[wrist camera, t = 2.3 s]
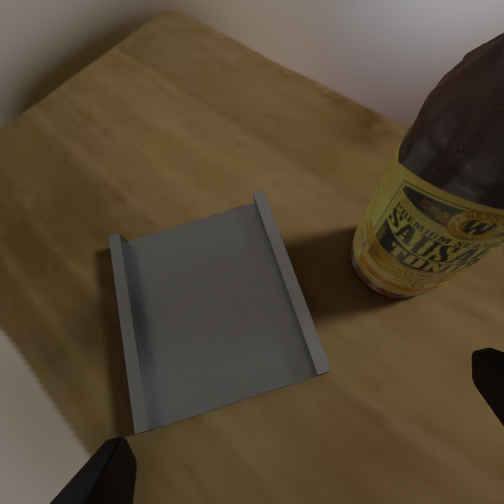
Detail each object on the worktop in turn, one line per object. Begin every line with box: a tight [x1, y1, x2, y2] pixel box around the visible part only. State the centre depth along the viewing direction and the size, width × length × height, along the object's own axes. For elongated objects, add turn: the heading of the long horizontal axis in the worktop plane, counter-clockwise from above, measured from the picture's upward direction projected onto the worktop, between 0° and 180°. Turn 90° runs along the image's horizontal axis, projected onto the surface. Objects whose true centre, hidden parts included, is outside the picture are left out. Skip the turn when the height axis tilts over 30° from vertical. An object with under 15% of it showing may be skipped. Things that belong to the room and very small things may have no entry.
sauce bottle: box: [351, 33, 504, 298], centre depth 14 cm, size 6×6×20 cm
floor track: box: [109, 190, 331, 434], centre depth 23 cm, size 13×12×2 cm
